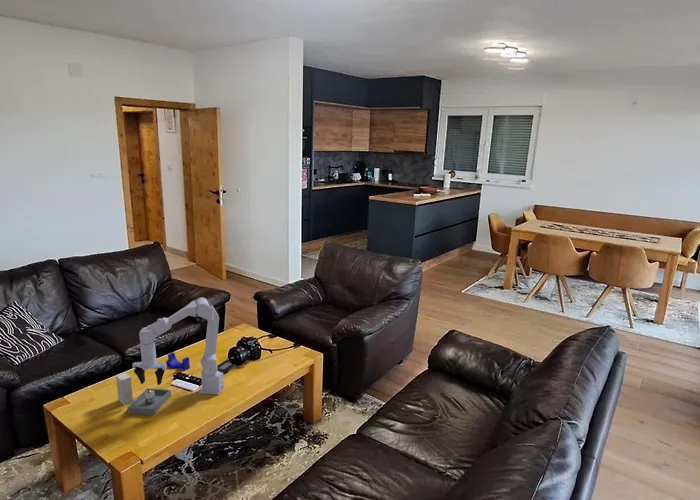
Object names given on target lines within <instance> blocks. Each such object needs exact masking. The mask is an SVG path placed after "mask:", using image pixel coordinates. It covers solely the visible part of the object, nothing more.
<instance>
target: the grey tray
mask: <svg viewBox="0 0 700 500" xmlns="http://www.w3.org/2000/svg"><path fill="white" fill-rule="evenodd" d="M147 390H154V394H155V403H153V404H151V405H146V404H145V396H144V392H145V391H147ZM171 397H172V390H171V389H163V388H153V387H152V388H151V387H148V388H146V389H144V391H142V392H141V393H140V394H139V396H137V398H135V399H133V402H131V403H129V405H128V406H127V413H128V414H130V415H131V414H132V415H143V416H155V414H156V413H157V412H158V411H159V410H161V408H162V407H163V406H164V404H165V403H166V402H167V401H168V400H169V399H170V398H171Z"/></svg>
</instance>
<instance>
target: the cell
mask: <svg viewBox="0 0 700 500" xmlns="http://www.w3.org/2000/svg"><path fill="white" fill-rule="evenodd" d="M144 391H145V390H144ZM144 391H143V392H144ZM144 396H145V404H146V405H151V404H153V403H155V394H154V390H147V391H145V392H144Z"/></svg>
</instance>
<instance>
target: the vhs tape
mask: <svg viewBox="0 0 700 500" xmlns="http://www.w3.org/2000/svg"><path fill="white" fill-rule="evenodd" d="M217 367H218V371H219V372H222V373H223V375H224V376H225V375H227V374H228V373H229V372H230V371H232V370H233V369H235V368H236V367H237V366H236V364H232V363H231V362H229V360H228V358H227V359H226V360H224V361H222V362H221V363H219V364H217Z"/></svg>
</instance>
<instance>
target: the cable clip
mask: <svg viewBox="0 0 700 500" xmlns="http://www.w3.org/2000/svg"><path fill="white" fill-rule="evenodd" d="M165 364H167V368H170V369H173V370H175V369H179V370H182V371H188V370H189V369H190V368H191V366H190V365H191V364H190V357H189V356H186V357H184V358H182V361H181V362H180V361H179V360H178V358H177V357H176V353H175V352H170V353H168V354H167V360H166V361H165Z"/></svg>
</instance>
